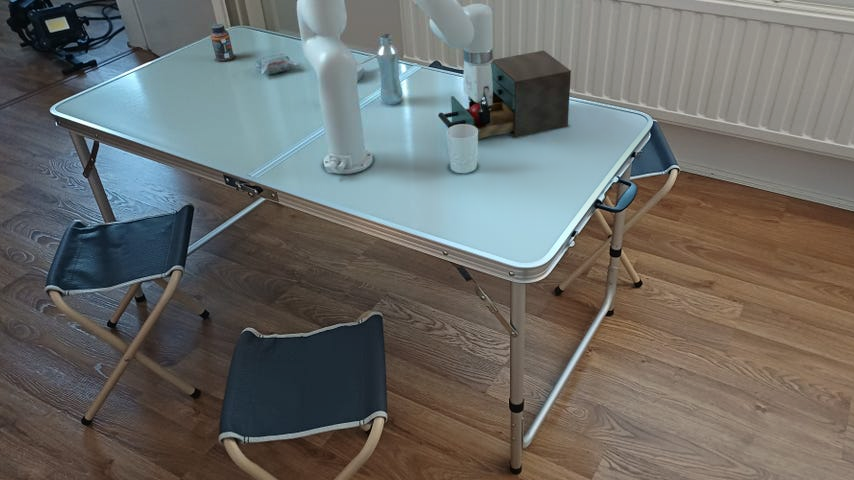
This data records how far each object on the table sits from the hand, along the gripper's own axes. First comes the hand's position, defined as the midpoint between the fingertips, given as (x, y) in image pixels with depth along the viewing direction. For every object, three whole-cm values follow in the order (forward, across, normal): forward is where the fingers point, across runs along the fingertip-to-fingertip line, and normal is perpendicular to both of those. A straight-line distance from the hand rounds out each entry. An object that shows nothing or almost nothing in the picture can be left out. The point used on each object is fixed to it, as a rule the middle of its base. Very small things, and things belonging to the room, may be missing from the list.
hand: (479, 118), depth 198 cm
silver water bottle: (+4, -28, -17) cm, 33 cm away
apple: (+1, 0, 0) cm, 1 cm away
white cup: (+4, +17, -12) cm, 21 cm away
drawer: (+3, 0, 0) cm, 3 cm away
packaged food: (+4, -67, -44) cm, 80 cm away
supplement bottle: (+4, -87, -58) cm, 105 cm away
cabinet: (+4, 0, +15) cm, 15 cm away
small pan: (+4, -53, -21) cm, 57 cm away
